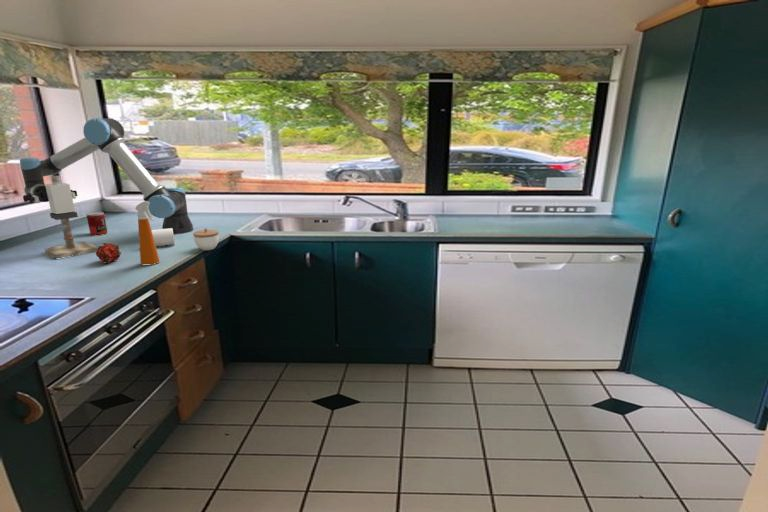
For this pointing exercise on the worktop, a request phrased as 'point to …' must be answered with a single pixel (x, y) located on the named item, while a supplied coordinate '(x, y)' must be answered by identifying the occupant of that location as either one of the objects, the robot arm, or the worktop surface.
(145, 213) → the spray bottle
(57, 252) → the pipe stand
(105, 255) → the dragon fruit
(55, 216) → the thin dark grey plate
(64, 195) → the sleeve
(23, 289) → the worktop surface
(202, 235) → the lidded jar
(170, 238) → the mug
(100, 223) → the canned food
